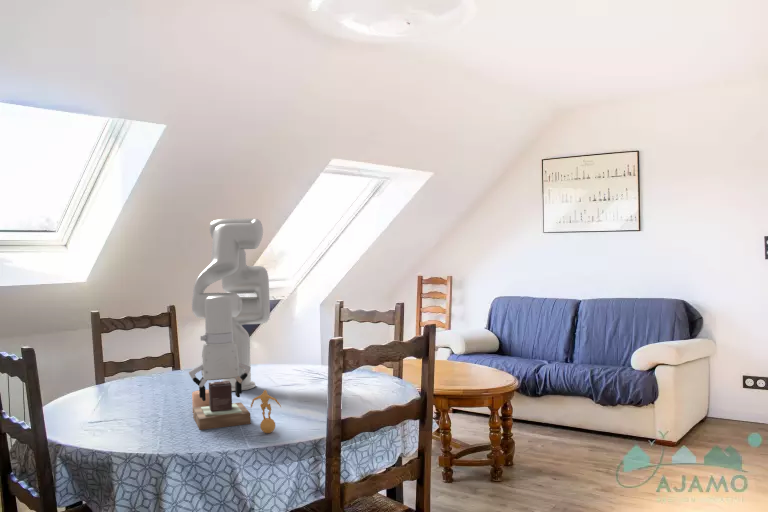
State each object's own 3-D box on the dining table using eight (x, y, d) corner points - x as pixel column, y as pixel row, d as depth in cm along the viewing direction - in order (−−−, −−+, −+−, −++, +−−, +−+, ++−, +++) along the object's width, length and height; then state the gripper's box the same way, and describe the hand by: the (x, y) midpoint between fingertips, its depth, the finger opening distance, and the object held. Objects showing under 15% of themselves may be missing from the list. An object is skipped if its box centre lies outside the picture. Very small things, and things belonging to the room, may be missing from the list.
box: (232, 410, 197) (231, 384, 196) (210, 412, 195) (210, 386, 194) (230, 405, 202) (229, 380, 202) (209, 407, 200) (208, 382, 200)
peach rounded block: (191, 410, 211) (190, 390, 211) (214, 407, 214) (214, 388, 214) (194, 415, 205) (193, 395, 205) (218, 413, 207) (217, 393, 207)
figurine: (284, 430, 187) (283, 386, 187) (279, 437, 181) (278, 391, 181) (254, 430, 188) (253, 386, 187) (248, 437, 182) (247, 391, 181)
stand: (193, 417, 202) (193, 406, 202) (241, 412, 208) (241, 401, 207) (199, 429, 189) (199, 417, 189) (250, 423, 195) (250, 411, 195)
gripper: (189, 342, 191) (191, 404, 192) (252, 338, 198) (253, 397, 198) (186, 339, 198) (188, 398, 198) (247, 334, 204) (248, 392, 205)
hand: (220, 398), depth 198 cm, fingers open, 9 cm apart
